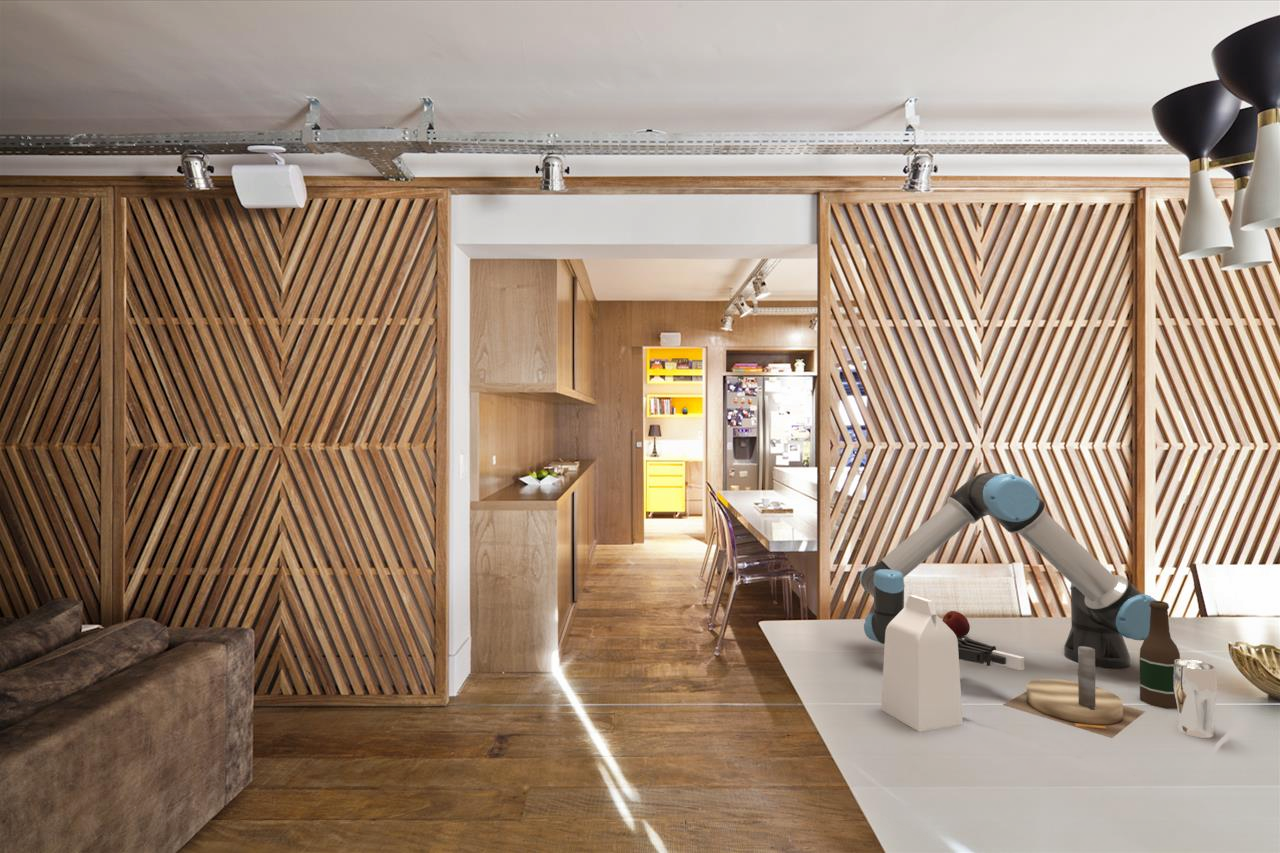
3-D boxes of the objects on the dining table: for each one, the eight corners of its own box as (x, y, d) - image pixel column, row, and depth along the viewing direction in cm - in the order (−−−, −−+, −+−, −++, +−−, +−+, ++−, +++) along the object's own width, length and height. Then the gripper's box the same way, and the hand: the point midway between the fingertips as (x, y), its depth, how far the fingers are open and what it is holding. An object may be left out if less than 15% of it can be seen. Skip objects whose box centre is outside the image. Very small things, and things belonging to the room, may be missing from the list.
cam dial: (1014, 689, 159) (1013, 626, 159) (1097, 694, 156) (1097, 630, 156) (1046, 720, 141) (1045, 649, 141) (1140, 727, 138) (1140, 654, 138)
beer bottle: (1173, 703, 154) (1172, 599, 155) (1188, 716, 147) (1187, 607, 147) (1133, 699, 157) (1132, 596, 157) (1146, 711, 149) (1145, 604, 150)
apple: (938, 633, 209) (938, 607, 209) (965, 634, 208) (964, 608, 208) (946, 640, 202) (946, 613, 202) (973, 641, 201) (973, 615, 201)
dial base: (1041, 688, 163) (1041, 682, 163) (1145, 716, 147) (1145, 710, 147) (1002, 709, 150) (1002, 703, 150) (1112, 743, 134) (1112, 736, 134)
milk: (881, 709, 150) (880, 593, 151) (922, 703, 154) (922, 590, 154) (918, 731, 139) (918, 606, 139) (962, 724, 142) (962, 602, 143)
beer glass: (1225, 746, 132) (1224, 670, 133) (1186, 743, 134) (1185, 668, 134) (1203, 731, 139) (1202, 659, 140) (1166, 728, 141) (1165, 657, 141)
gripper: (936, 648, 174) (1034, 674, 155) (910, 658, 165) (1010, 687, 147) (936, 619, 174) (1034, 641, 155) (910, 628, 166) (1010, 652, 147)
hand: (1022, 663), depth 151 cm, fingers closed
